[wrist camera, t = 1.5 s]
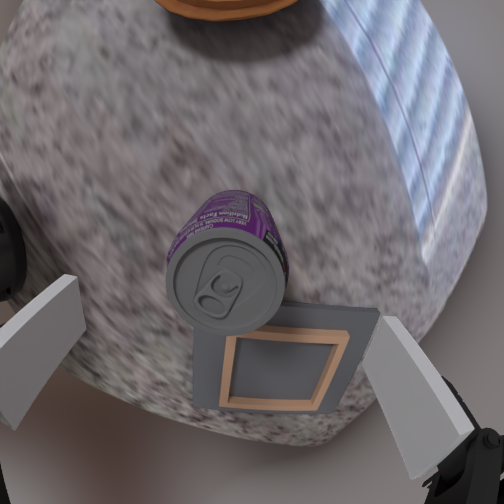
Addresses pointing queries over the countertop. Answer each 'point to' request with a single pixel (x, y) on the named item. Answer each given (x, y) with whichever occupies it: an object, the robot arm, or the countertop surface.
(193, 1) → the pie
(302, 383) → the dock plate
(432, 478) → the robot arm
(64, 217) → the countertop surface
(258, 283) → the beverage can
